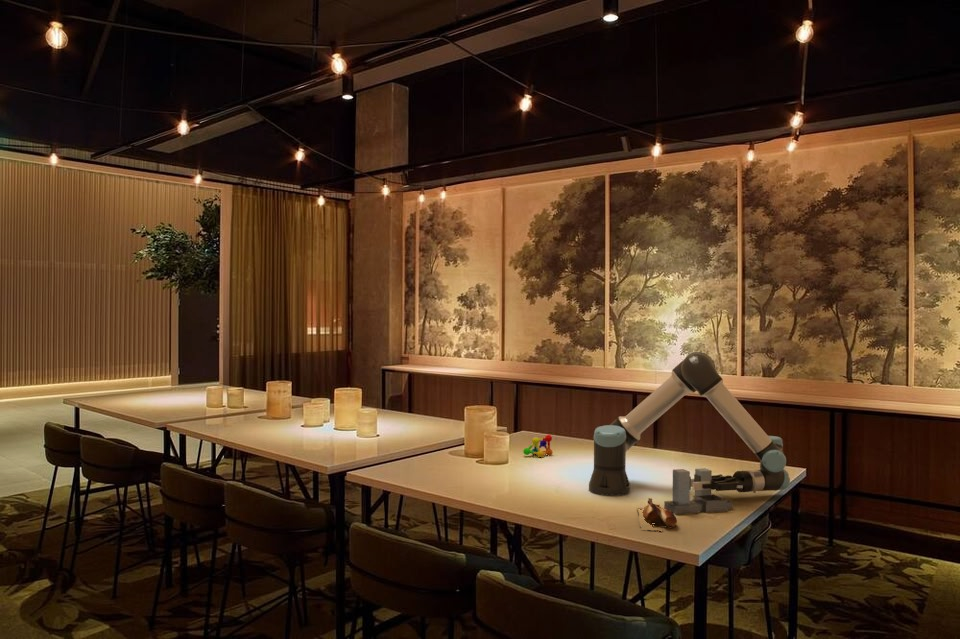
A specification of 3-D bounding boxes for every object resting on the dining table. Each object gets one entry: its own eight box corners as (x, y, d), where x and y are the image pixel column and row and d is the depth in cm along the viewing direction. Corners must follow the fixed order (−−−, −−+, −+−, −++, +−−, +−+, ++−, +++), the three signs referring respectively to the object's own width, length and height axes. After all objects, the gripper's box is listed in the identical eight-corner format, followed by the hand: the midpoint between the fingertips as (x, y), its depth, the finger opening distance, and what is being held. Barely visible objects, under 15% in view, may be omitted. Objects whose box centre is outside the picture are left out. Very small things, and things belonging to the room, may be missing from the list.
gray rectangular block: (699, 502, 239) (699, 471, 239) (693, 499, 243) (693, 468, 243) (711, 502, 240) (711, 470, 240) (704, 499, 244) (705, 468, 244)
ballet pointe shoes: (640, 513, 206) (632, 490, 233) (640, 535, 206) (632, 509, 233) (687, 514, 204) (673, 490, 232) (687, 536, 204) (673, 510, 232)
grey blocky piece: (676, 514, 224) (676, 473, 224) (664, 508, 231) (664, 468, 231) (735, 510, 229) (735, 470, 229) (721, 504, 237) (722, 465, 237)
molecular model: (525, 462, 321) (546, 441, 327) (540, 470, 313) (561, 448, 320) (517, 446, 315) (538, 425, 321) (532, 454, 307) (553, 432, 314)
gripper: (762, 497, 238) (703, 501, 232) (733, 485, 254) (676, 489, 248) (763, 476, 238) (703, 479, 232) (733, 465, 254) (676, 468, 248)
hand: (689, 484), depth 240 cm, fingers closed on gray rectangular block, 4 cm apart
